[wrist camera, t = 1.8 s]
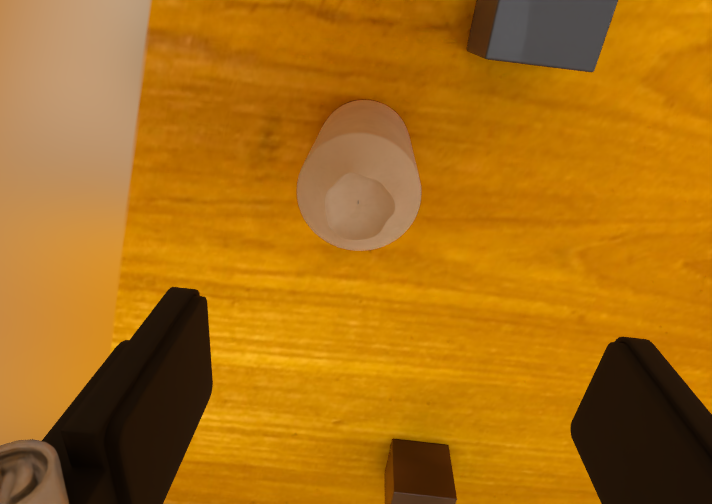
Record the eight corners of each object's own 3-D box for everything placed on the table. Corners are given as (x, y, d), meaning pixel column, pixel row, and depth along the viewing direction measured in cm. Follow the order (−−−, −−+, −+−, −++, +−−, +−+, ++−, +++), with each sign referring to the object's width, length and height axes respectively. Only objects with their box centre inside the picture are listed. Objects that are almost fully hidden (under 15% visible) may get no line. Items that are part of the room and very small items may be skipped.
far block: (384, 474, 42) (385, 529, 37) (392, 438, 39) (394, 492, 35) (437, 480, 42) (444, 535, 37) (448, 445, 39) (457, 499, 35)
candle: (315, 101, 26) (282, 145, 17) (409, 95, 26) (425, 138, 17) (323, 190, 29) (299, 268, 20) (410, 186, 28) (423, 264, 20)
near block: (465, 50, 25) (484, 59, 20) (488, -59, 22) (515, -77, 18) (555, 62, 25) (594, 72, 20) (588, -47, 22) (639, -61, 18)
